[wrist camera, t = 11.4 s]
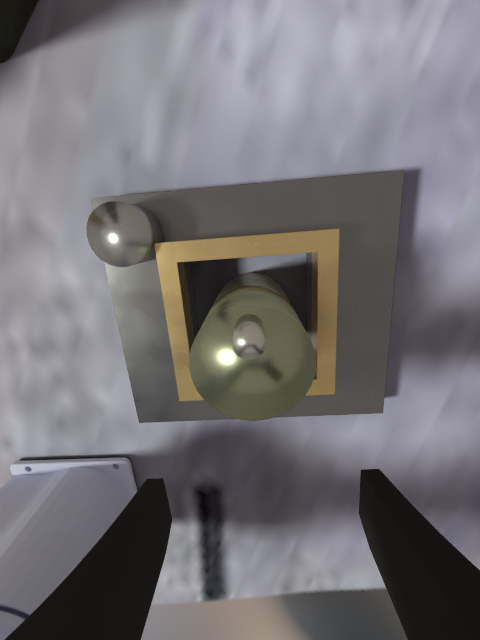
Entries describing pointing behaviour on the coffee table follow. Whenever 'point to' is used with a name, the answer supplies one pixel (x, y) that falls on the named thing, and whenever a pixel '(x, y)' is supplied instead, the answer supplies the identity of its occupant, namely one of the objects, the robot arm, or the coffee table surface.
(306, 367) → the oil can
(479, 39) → the coffee table surface
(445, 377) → the coffee table surface
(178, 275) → the square peg board
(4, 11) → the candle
